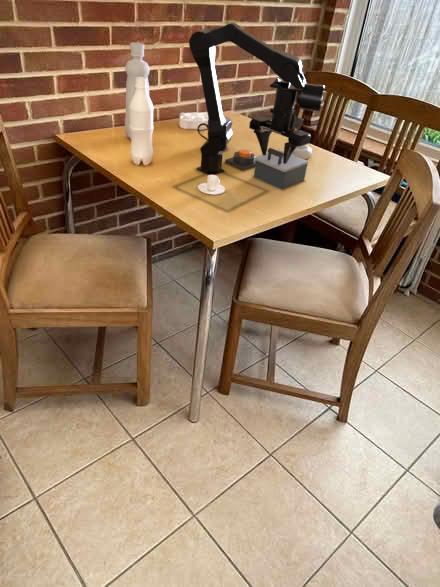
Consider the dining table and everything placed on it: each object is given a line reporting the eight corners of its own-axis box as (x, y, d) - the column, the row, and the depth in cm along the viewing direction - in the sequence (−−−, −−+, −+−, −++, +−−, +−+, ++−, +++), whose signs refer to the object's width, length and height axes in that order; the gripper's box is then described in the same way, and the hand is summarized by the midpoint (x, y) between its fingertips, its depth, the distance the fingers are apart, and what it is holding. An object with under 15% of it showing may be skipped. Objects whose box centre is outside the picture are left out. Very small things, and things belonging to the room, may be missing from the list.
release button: (245, 159, 149) (245, 154, 148) (236, 155, 151) (236, 150, 150) (252, 156, 151) (253, 152, 150) (243, 153, 153) (244, 148, 152)
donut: (289, 148, 169) (279, 155, 162) (290, 139, 167) (281, 146, 160) (314, 155, 166) (305, 163, 159) (316, 146, 164) (307, 153, 157)
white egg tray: (212, 118, 190) (227, 129, 180) (171, 119, 183) (185, 131, 172) (213, 109, 188) (228, 121, 177) (172, 111, 181) (185, 122, 170)
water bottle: (149, 168, 141) (149, 82, 126) (127, 164, 142) (124, 78, 127) (156, 160, 147) (157, 77, 132) (135, 156, 148) (133, 73, 133)
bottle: (120, 135, 162) (118, 41, 144) (144, 133, 167) (144, 41, 149) (131, 144, 157) (130, 46, 139) (155, 141, 161) (156, 46, 143)
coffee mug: (230, 145, 165) (233, 117, 159) (228, 154, 158) (231, 125, 152) (198, 141, 165) (200, 113, 159) (195, 149, 159) (197, 120, 152)
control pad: (242, 170, 148) (244, 162, 146) (224, 162, 152) (225, 154, 150) (261, 164, 154) (263, 155, 152) (244, 156, 158) (245, 148, 156)
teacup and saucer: (211, 181, 139) (212, 168, 136) (231, 190, 135) (233, 177, 133) (192, 189, 133) (193, 175, 131) (213, 198, 130) (214, 185, 127)
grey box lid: (284, 172, 135) (287, 157, 132) (254, 159, 140) (256, 145, 138) (307, 163, 142) (310, 149, 140) (278, 151, 148) (280, 138, 145)
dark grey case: (282, 190, 139) (286, 171, 135) (253, 177, 144) (256, 159, 141) (303, 181, 146) (307, 163, 142) (275, 169, 152) (278, 152, 148)
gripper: (326, 110, 129) (314, 163, 138) (275, 94, 138) (266, 144, 148) (304, 116, 122) (293, 172, 131) (251, 98, 131) (244, 151, 141)
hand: (274, 159), depth 138 cm, fingers open, 8 cm apart
